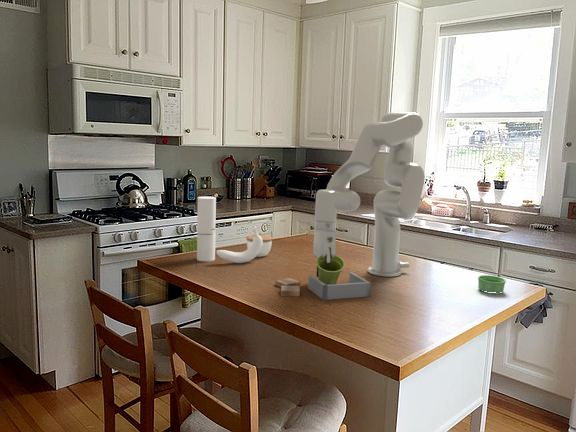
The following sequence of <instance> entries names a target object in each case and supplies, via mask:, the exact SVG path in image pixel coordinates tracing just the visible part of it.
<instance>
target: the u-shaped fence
mask: <svg viewBox="0 0 576 432" xmlns="http://www.w3.org/2000/svg"><path fill="white" fill-rule="evenodd" d="M307 279H308V280H307V289H309V290H310V291H311V292H312V293H313V294H316V296H318V297H319V298H320V299H322V300H323V301H326V300H327V301H329V300H342V299H353V298H366V297H367V298H368V297H371V292H372V291H371V289H372V282H370V281H368V280H366V279H365V278H364V277H361V276H360V275H359V274H357V273H354V272H353V271H352V272H351V271H350V272H349V276H348V283H336V284H331V285H326V284H324V283H323V282H322V281H320V280H319V278H318V277H317V276H314V275H313V274H308V278H307Z"/></svg>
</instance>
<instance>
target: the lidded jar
mask: <svg viewBox="0 0 576 432" xmlns="http://www.w3.org/2000/svg"><path fill="white" fill-rule="evenodd" d="M257 233H258V234H259V235H260V236H261V238H262V241H263V243H262V248H261V250H260V252H259V253H258V255H257V256H256V257H258V258H261V257H262V256H263V257H266V256H267V255H268V254H269V252H270V251H271V249H272V244H273V242H272V241H273V237H272V236H271V235H266V234H261V232H257ZM253 239H254V234H251V235H250V234H249V235H247V236H246V247H247V249H248V248H249V247H250V246H251V244H252V242H253ZM256 257H255V258H256Z"/></svg>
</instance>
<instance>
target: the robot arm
mask: <svg viewBox="0 0 576 432" xmlns="http://www.w3.org/2000/svg"><path fill="white" fill-rule="evenodd" d="M423 125H424V123H423V119H422V117H421V115H420V114H419V113H416V112H414V111H409V112H408V111H406V112H405V111H398V112H397V111H396V112H387V113H385V114H383V116H382V117H381V118H380V121H379V122H378V121H375V122H374V121H373V122H368V123H367V124H365V125H364V126H363V127H362V130H361V132H360V134H359V135H358V136H359V137H358V138H357V141H356V143H355V145H354V148H353V150H352V152H351V155H350V156H349V158H348V159H347V161H345V162H344V163H343V164H342V165H341V166H340V167H339V168H338V169H337V170H336V171H335V172H334V173H333V175H332V176H331V178H330V179H329V181H328V185H326V186H327V187H326V189H318V190H317V191H316V194H315V207H314V208H315V210H314V219H313V220H314V222H313V223H314V224H313V230H314V233H313V235H314V236H313V244H312V253H313V255H314V256H315V258H316V259H317V258H318V257H319V256H321V255H322V259H323V260H324V257H325V256H326V257H325V264H330V254H331V255H332V258H334V259H335V255H336V244H337V243H336V230H337V215H338V211H339V212H349V213H350V212H353V211H356V210H358V208H359V207H360V205H361V197H360V195H359V194H358V193H357V192H356V191H354V190H350V189H346V187H347V186H348V184H349V183H350V182H351V181H352V180H353V179H354V178H356V177H358V176H360V175H362V174H365V173H367V172H369V171H370V170H371V169H372V167H373V166H374V163H375V161H376V159H377V156H378V154H379V153H380V152H379V151H380V150H381V147H385V148H389V149H388V155H387V159H386V164H385V167H384V172H383V181H384V183H385V184H386V185H387V186H390V187H393V188H399V189H400V191H399V190H392V189H383V190H380V191H378V192H377V193H376V195H375V196H374V198H373V210H374V234H373V235H374V236H373V246H372V247H373V249H372V264H371V266H369V267H368V268H367V272H368V273H369V274H371V275H374V276H377V277H379V276H380V277H387V278H388V277H389V278H390V277H391V278H393V277H398V276H402V268H406V269H407V268H409V267H410V263H409V262H402V261H399V251H400V240H401V239H400V238H401V237H400V235H401V224H400V219H402V220H409V219H412V218H414V216H416V214H417V212H418V210H419V206H420V203H421V198H422V197H421V196H422V193H423V188H424V187H425V186H424V185H425V180H426V179H425V177H426V176H425V175H426V174H425V171H424V168H423V167H422V166H421V165H420V164H418V163H415V162H411V160H412V157H413V156H412V155H413V144H412V141H411V139H412V138H414V137H416V136H417V135H419V134H420V132H421V130H422V129H423ZM315 277H316V278H317V279H319V274H318V266H317V265H316V276H315Z"/></svg>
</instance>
